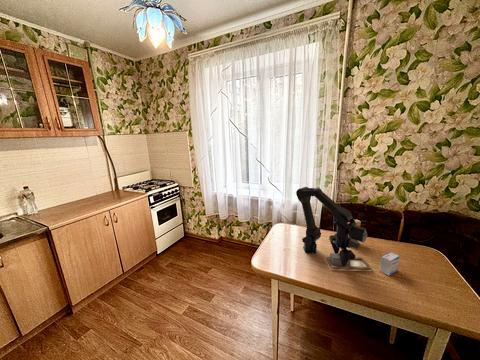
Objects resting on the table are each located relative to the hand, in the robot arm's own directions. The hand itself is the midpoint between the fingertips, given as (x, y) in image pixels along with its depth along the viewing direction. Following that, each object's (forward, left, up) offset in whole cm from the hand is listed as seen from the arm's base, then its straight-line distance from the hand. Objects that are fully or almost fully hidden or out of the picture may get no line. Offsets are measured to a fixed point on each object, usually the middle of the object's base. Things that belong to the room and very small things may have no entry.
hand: (339, 260), depth 106 cm
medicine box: (+22, -4, -3) cm, 23 cm away
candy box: (+15, +21, -3) cm, 26 cm away
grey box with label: (0, 0, -2) cm, 2 cm away
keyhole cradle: (+4, 0, -3) cm, 5 cm away
